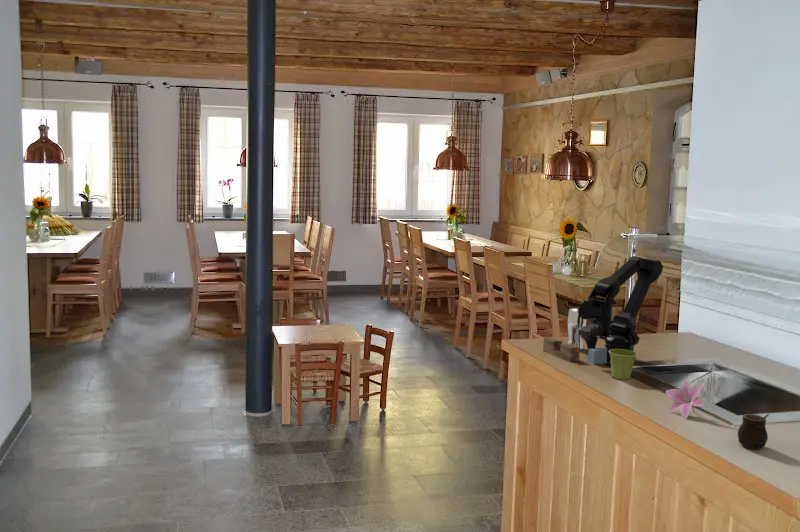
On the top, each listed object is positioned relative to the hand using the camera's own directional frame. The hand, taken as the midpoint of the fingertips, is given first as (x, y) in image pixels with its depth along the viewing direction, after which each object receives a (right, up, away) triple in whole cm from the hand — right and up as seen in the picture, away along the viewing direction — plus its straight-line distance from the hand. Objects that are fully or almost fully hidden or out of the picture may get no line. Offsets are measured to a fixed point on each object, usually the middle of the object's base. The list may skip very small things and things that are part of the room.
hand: (599, 359), depth 290 cm
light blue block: (0, -1, 0) cm, 1 cm away
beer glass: (-5, +2, +20) cm, 21 cm away
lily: (+11, -10, -54) cm, 56 cm away
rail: (-13, +1, +7) cm, 14 cm away
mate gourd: (+20, -14, -79) cm, 83 cm away
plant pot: (+3, -4, -18) cm, 19 cm away
